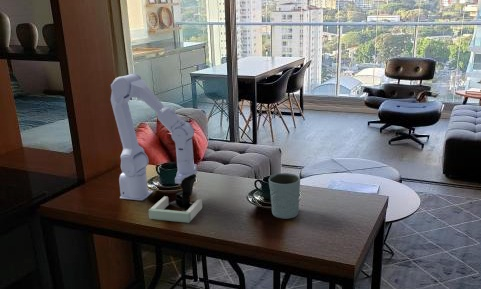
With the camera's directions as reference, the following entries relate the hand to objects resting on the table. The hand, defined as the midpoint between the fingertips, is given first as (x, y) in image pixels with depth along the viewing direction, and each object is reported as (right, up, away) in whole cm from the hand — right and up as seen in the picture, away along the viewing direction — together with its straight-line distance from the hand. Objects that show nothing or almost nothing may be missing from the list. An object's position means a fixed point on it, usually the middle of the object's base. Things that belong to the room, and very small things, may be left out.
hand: (188, 195), depth 164 cm
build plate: (-1, -4, -2) cm, 4 cm away
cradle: (-3, -5, -8) cm, 10 cm away
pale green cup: (+33, -4, -12) cm, 35 cm away
